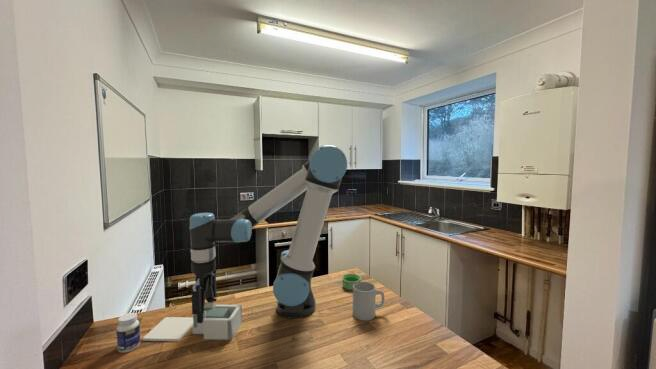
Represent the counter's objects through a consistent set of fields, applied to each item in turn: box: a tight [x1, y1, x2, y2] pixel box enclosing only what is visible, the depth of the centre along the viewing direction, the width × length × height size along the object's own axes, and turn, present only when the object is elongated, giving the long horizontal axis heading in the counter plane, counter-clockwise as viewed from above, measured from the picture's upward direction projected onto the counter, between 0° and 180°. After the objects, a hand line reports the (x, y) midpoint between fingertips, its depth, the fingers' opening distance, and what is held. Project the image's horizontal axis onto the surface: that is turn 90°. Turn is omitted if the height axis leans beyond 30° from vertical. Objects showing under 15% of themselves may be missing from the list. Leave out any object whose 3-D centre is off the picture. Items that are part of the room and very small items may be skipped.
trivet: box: [142, 316, 194, 342], centre depth 92 cm, size 12×12×1 cm
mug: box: [352, 281, 385, 322], centre depth 101 cm, size 12×8×11 cm
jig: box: [192, 304, 243, 341], centre depth 92 cm, size 14×10×6 cm
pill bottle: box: [116, 312, 141, 354], centre depth 83 cm, size 6×6×10 cm
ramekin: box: [341, 273, 362, 291], centre depth 125 cm, size 9×9×4 cm
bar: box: [192, 307, 229, 327], centre depth 92 cm, size 10×5×4 cm, turn 89°
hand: (206, 325), depth 92 cm, fingers closed on bar, 5 cm apart
